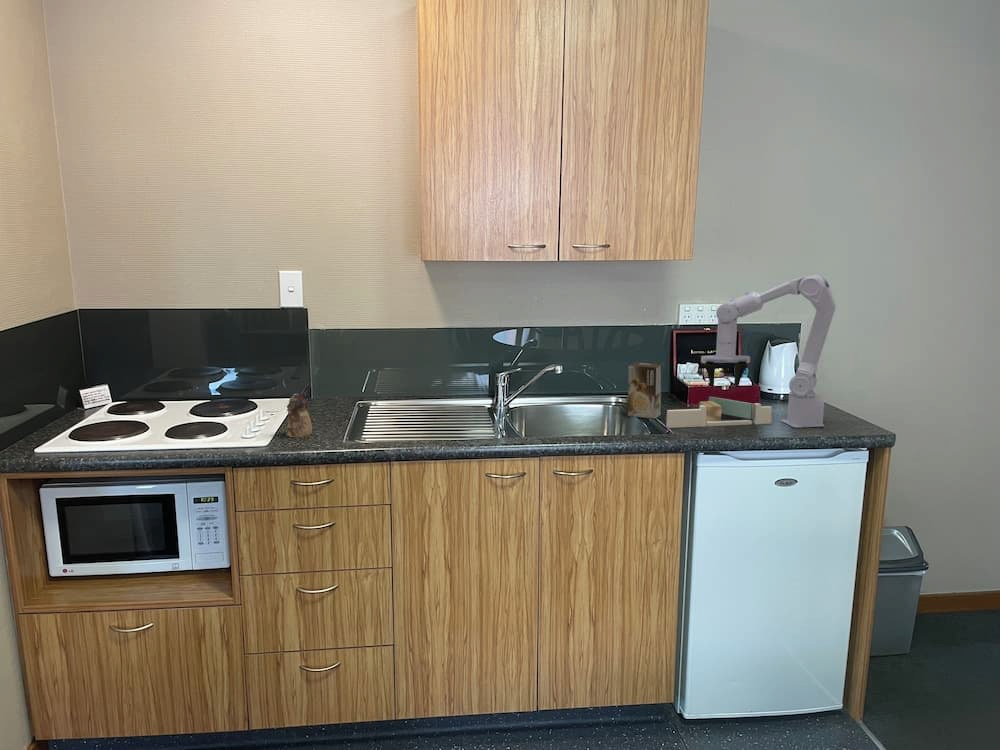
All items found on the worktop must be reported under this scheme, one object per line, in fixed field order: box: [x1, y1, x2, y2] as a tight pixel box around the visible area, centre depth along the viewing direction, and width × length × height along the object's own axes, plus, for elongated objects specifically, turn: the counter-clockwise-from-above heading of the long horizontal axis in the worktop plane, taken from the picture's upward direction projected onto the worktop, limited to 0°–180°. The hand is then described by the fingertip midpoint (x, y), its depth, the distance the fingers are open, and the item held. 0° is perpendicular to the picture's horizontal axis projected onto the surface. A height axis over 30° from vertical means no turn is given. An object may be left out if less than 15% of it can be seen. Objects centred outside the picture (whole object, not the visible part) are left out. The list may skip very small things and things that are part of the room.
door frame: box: [666, 402, 773, 429], centre depth 230 cm, size 32×2×6 cm, turn 98°
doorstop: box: [698, 400, 722, 422], centre depth 237 cm, size 4×7×5 cm, turn 9°
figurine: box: [286, 392, 313, 438], centre depth 221 cm, size 7×7×12 cm
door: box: [708, 396, 755, 420], centre depth 236 cm, size 15×1×4 cm, turn 46°
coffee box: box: [627, 362, 663, 419], centre depth 241 cm, size 9×6×16 cm
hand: (724, 385), depth 240 cm, fingers open, 7 cm apart
